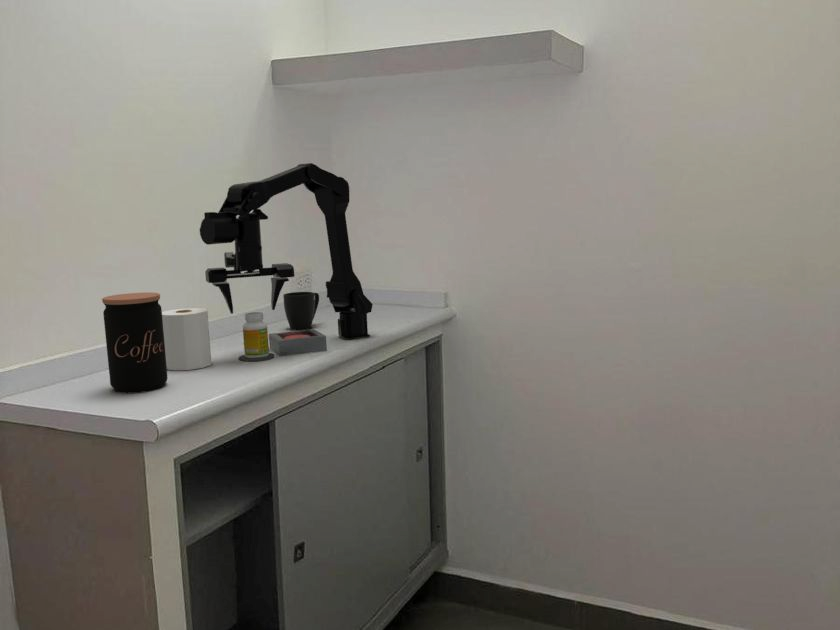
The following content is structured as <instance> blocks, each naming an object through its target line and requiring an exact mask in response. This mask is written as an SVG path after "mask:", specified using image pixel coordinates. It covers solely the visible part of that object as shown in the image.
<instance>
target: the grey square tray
mask: <svg viewBox="0 0 840 630" xmlns="http://www.w3.org/2000/svg"><path fill="white" fill-rule="evenodd" d="M291 335H309V336H310V337H301V338H291V339H284V337H286V336H291ZM268 344H269V350H271V351H273V352H274V354H275V355H278V357H284V356H294V355H301V354H310V353H320V352H321V353H322V352H327V351H328V349H327V348H328V347H327V346H328V345H327V344H328V343H327V335H325V334H323V333H322V332H319V331H318V330H316V329H315V328H310V329H307V330H291V331H283V332H272V333H268Z"/></svg>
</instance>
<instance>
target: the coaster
mask: <svg viewBox="0 0 840 630" xmlns="http://www.w3.org/2000/svg"><path fill="white" fill-rule="evenodd" d="M275 357H276V353H272V352H269V355H268V356H266V357H261V358H247V357H245V354H242V355H239V356H238V360H239V361H241V362H246V363H247V362H249V363H250V362H251V363H252V362H265V361H268V360H272V359H275Z"/></svg>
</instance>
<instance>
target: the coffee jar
mask: <svg viewBox="0 0 840 630" xmlns="http://www.w3.org/2000/svg"><path fill="white" fill-rule="evenodd" d="M160 300H161V293H158V292H131V293H130V292H129V293H121V294H113V295H107V296H104V297H102V298H101V301H102V304H103V305H104V306H105V308H104V310H103V312H102V313H103V323H104V334H105V343H106V353H107V354H106V355H107V363H108V364H107V365H108V373H109V384H110V387H112V388H113V390H114V391H115V392H116V391H117V393H120V392H126V393H125V394H129V393H128V392H137V393H143V392H142V391H146V392H151V391H154V389H155V390H158V389H161V388H162V387H165V384H166V383H167V380H168V369H167V365H166V354H165V343H164V332H163V320H162V312H163V310H162V305H160V304H159V301H160ZM150 390H151V391H150Z"/></svg>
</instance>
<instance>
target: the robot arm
mask: <svg viewBox="0 0 840 630" xmlns="http://www.w3.org/2000/svg"><path fill="white" fill-rule="evenodd" d="M301 185H303V186H304V187H305V188H306V190H307V191H309V192H310V193H313V194H314V198H315V201H316V204H317V206H318V208H319V209H320V211H321V212H322V214H323V215H324V219H325V221H324V222H325V227H326V234H327V241H328V247H329V248H328V249H329V254H330V263H331V269H332V274H331V278H330V280H328V281H325V287H326V298H328V300H329V302H330V304H331V305H332V307H333V310H334V313H339V318H338V319H337V331H338V334H337V335H338V337H340V338H342V339H344V340H351V339H353V340H354V339H360V338H361V339H362V338H370V337H371V334H369V331H368V313H371V312H372V310H373V303H372V302H371V300H369V299H368V298H367V296H366V295H365V294H364V291H363V288H362V284H361V281H360V280H359V278H358V276H357V274H355V272H354V270H353V262H352V261H353V260H352V255H351V247H350V239H349V233H348V224H347V218H346V212H347V210H348V207H349V204H350V185H349V181H348V180H346V179H345V178H344V177H342V176H337V175H336V174H334V173H332V172H331V171H328V170H325V169H322V168H321V167H319V166H317V164H314V163H311V162H309V163H299V164H297V166H295V167H291V168H290V169H287V170H284V171H280V172H279V173H277V174H273V175H272V176H269V177H266V178H263V179H261V180H257V181H256V180H255V181H249V182H242V183H241V182H240V183H236V184H233V185H231V186H229V188H228V190H227V194H226V197H225V199H224V202H223V204H222V205H221V206H220V209H219V210H218V212H215V211H212V212H211V211H209V212H208V211H207V212H206V211H205V212H204V215H203V216H204V218H203V219H202V220H201V223H200V227H199V235H200V238H201V241H203V242H204V244H205V245H207V246H208V245H210V246H211V245H216V244H217V245H219V244H230V243H234V249H235V250H234V251H229V252H228V251H227V252H226V251H225V252H224V254H223V258H224V267H210V268H207V269H206V270H205V273H204V274H205V282H207V283H209V284H212V286H214V287H216V288H217V287H218V289H219V291H220V292H221V293H222V296H223V298H224V300H225V303H226V305H227V308H228V310H229V313H230V314H231V315H232V314H234V306H233V305H234V304H233V300H232V299H233V298H232V293H231V292H232V291H231V287H230V283H229V282H228V280H229V279H239V278H240V279H241V278H253V277H256V278H257V277H265V276H273V277H270V283H271V295H270V296H271V297H270V298H271V299H270V301H271V304H270V305H271V310H272V311H274V310H276V306H277V303H278V299H279V298H280V294H281V292H282V289H283V287H284V285H285V282H289V281H290V279H289V278H295V269H294V268H295V267H294V266H293V265H292V264H290V263H288V262H285V263H284V262H283V263H271V267H264V264H263V247H262V236H261V235H262V234H261V221H262V220H263V221H264V220H268V219H269V216H268V215H267V214H265V213H264V212H263V210H261V207H263V206H264V205H265V204H267V203H268V202H269V201H270V200H271V199H272V198H273V197H274V196H276V195H279V194H282V193H284V192H286V191H289V190H291V189H293V188H296V187H298V186H301ZM227 268H228V270H227ZM229 268H233V269H229Z"/></svg>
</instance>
